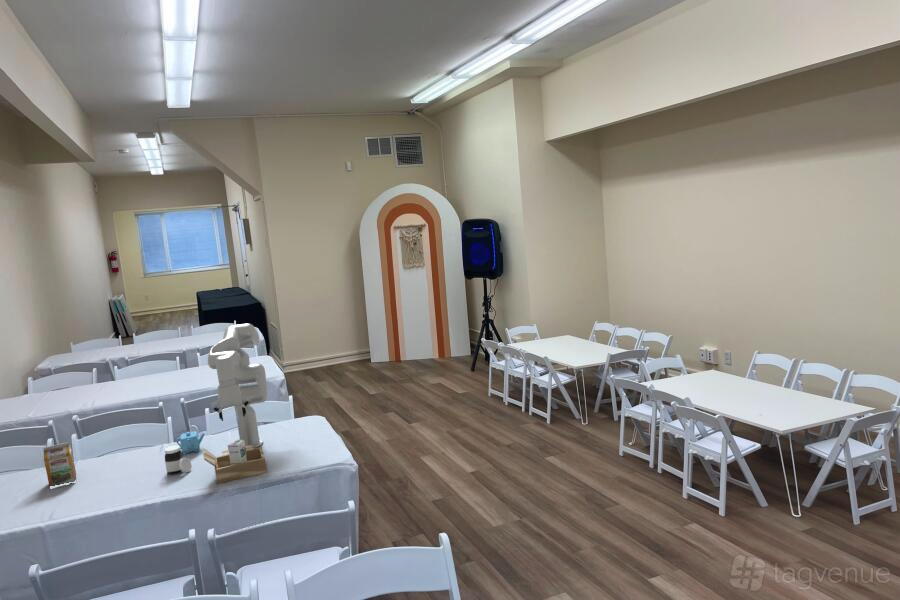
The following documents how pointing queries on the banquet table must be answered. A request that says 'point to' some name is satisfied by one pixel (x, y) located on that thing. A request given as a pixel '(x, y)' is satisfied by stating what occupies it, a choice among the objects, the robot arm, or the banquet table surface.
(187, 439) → the teapot
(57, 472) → the yellow food package
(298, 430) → the banquet table surface
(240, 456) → the syrup box
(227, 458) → the wooden square tray
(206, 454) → the flap
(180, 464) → the spread jar
